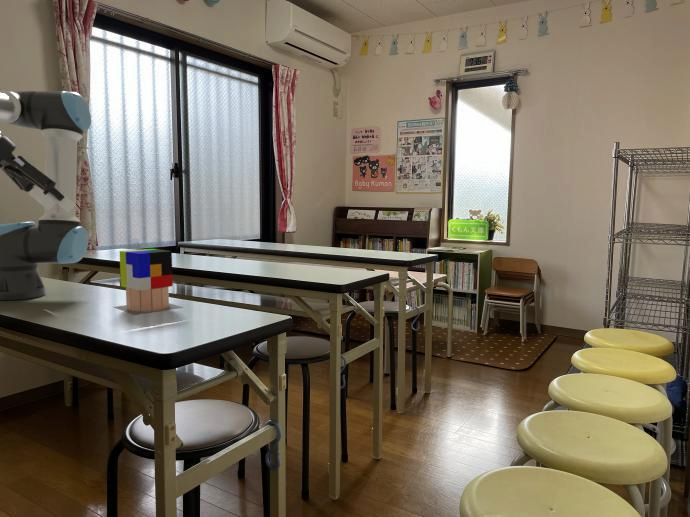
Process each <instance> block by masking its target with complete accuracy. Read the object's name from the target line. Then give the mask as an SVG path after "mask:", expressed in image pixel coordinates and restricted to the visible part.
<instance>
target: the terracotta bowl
mask: <svg viewBox="0 0 690 517" xmlns="http://www.w3.org/2000/svg"><path fill="white" fill-rule="evenodd" d="M169 290H170V289H169V287H163V288H156V289H148V290H141V291H139V290H134V289H130V288H126V287H125V297H126V298H125V299H126V305H127V310H130V311H141V312H142V311H156V310H162V309H165V308H168V307H169V303H170V294H169Z"/></svg>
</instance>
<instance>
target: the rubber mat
mask: <svg viewBox="0 0 690 517" xmlns="http://www.w3.org/2000/svg"><path fill="white" fill-rule="evenodd" d="M113 308H114V309H117V310H120V311H123V312H125V313H128V314H131V315H134V316H138V315H144V314H151V313H158V312H164V311H170V310H177V309H183V308H184V307H183V306H181V305H176V304H173V303H170V302H169V307H168V308H165V309H162V310H156V311H142V312H141V311H130V310H127V304H125V305H119V306H113Z"/></svg>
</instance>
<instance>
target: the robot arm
mask: <svg viewBox="0 0 690 517" xmlns="http://www.w3.org/2000/svg"><path fill="white" fill-rule="evenodd" d="M0 123H2V124H8V125H12V126H17V127H22V128H26V129H33V130H40V133H41V134H42V135H43V137H44V138H45V165H44V166H45V171H44V173H43V172H42V171H41V170H39V169H38V168H36V167H35V166H34V165H32V164H31V163H30V162H28V161H27V159H25V158H24V157H23V156H22V155H17V156H15V155H14V154H13V152H14V151H15V150H16V148H17V146H16V144H15V143H13V141H11V140H10V139H9V138H8V137H7V136H6V135H3V134H2V131H1V130H0V169H1V170H2V171H3V173H5V174H6V176H8V178H9V179H11V181H12V182H13V183H14V184H15V185H16V187H18V188H19V190H21V191H24V192H26V193H27V194H28V195H29V196H31V197H32V199H34V200H35V201H36V202H38V204H40V205H41V206H42V207H43V209H44V211H43V215H42V216H41V217H39V218H38V223H37V224H38V225H37V224H36V222H34V221H22V222H12V223H5V224H4V223H3V224H0V301H18V300H26V299H34V298H39V297H42V296H44V295H45V296H46V286H45V284H44V281H43V279H42V276H41V275H40V272H39V267H38V265H39V264H58V265H59V264H60V265H66V264H76V263H78V262H79V261H81V260H82V259H83V258H84V257H85V255H86V253H87V250H88V246H89V235H88V231H87V230H86V228H85V227H83V226H82V225H81V223H82V222H81V220H79V218H78V217H77V216H76V213H77V212H76V210H77V209H76V206H77V171H78V170H77V164H78V142H79V141H80V140H81V139H83V138H84V137H83V136H84V134H83V133H84V132H85V131H88V130H89V129H90V127H91V124H92V117H91V113H90V109H89V106H88V104H87V102H86V100H85V98H84V97H83V96H82V94H79V93H77V92H75V91H65V90H61V91H58V90H57V91H55V90H53V91H48V90H47V91H45V90H24V91H23V90H22V91H20V90H19V91H18V90H17V91H10V90H4V89H0ZM1 134H2V135H1Z"/></svg>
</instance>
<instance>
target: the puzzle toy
mask: <svg viewBox="0 0 690 517" xmlns="http://www.w3.org/2000/svg"><path fill="white" fill-rule="evenodd" d="M119 269H120V271H119V272H120V287H122V288H125V289H126V288H130V289H134V290H139V291H141V290H148V289H156V288H163V287H173V283H174V282H173V281H174V279H173V251H172V250H166V249H158V248H145V249H143V248H142V249H129V250H119Z"/></svg>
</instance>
